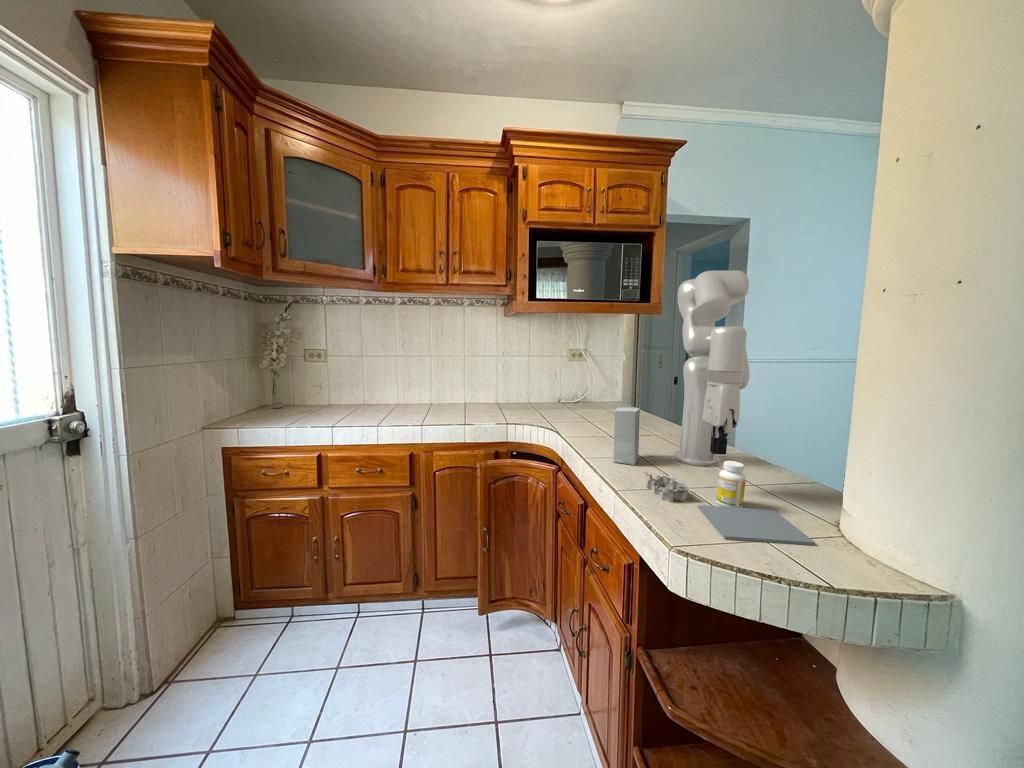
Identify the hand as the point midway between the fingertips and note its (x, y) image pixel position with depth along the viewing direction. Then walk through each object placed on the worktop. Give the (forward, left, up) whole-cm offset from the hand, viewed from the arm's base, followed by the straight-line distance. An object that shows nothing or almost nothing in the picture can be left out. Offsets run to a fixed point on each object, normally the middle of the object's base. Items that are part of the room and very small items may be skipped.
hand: (717, 453), depth 100 cm
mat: (+18, 0, -9) cm, 21 cm away
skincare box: (-21, -18, -10) cm, 29 cm away
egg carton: (+4, -13, -10) cm, 16 cm away
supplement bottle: (+8, 0, -10) cm, 13 cm away
